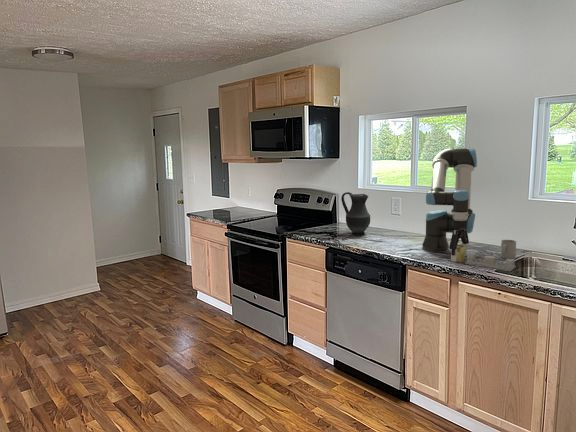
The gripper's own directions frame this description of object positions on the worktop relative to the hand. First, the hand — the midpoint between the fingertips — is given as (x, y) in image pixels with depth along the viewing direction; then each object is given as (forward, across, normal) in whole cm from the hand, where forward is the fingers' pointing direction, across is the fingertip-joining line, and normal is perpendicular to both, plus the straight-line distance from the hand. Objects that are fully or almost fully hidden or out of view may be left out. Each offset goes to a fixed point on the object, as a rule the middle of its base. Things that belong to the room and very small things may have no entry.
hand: (458, 258), depth 227 cm
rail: (+1, 0, -16) cm, 16 cm away
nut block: (+1, 0, 0) cm, 1 cm away
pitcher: (+1, +22, +82) cm, 85 cm away
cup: (+2, +20, -18) cm, 27 cm away
